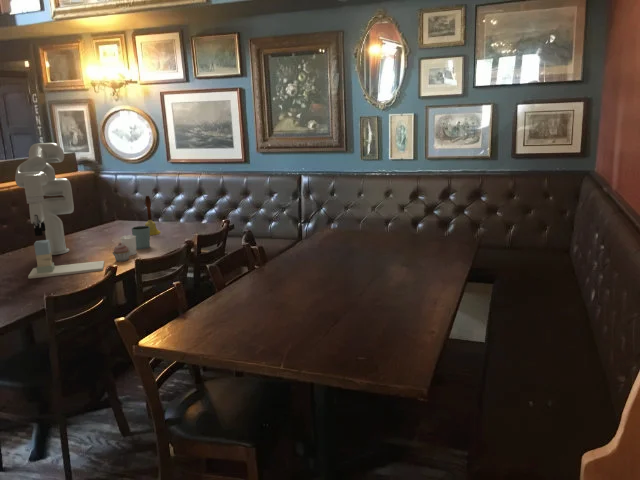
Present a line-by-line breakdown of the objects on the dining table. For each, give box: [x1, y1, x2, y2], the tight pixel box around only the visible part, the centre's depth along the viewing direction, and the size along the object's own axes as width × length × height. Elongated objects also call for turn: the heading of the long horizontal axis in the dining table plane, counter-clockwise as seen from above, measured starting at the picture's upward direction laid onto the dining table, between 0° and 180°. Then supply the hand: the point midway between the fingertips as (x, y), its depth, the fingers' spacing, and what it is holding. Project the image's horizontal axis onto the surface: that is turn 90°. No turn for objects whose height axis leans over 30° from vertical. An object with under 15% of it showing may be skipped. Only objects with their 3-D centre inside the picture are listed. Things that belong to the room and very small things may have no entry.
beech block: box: [35, 252, 53, 267], centre depth 269 cm, size 6×6×6 cm
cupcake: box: [111, 242, 130, 263], centre depth 289 cm, size 9×9×10 cm
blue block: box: [33, 239, 51, 256], centre depth 267 cm, size 6×6×6 cm
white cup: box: [120, 234, 137, 257], centre depth 301 cm, size 8×8×10 cm
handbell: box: [144, 195, 162, 237], centre depth 350 cm, size 12×12×25 cm
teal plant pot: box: [131, 225, 151, 250], centre depth 316 cm, size 10×10×12 cm
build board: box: [27, 260, 105, 279], centre depth 273 cm, size 15×34×4 cm, turn 109°
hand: (40, 233), depth 266 cm, fingers open, 9 cm apart
